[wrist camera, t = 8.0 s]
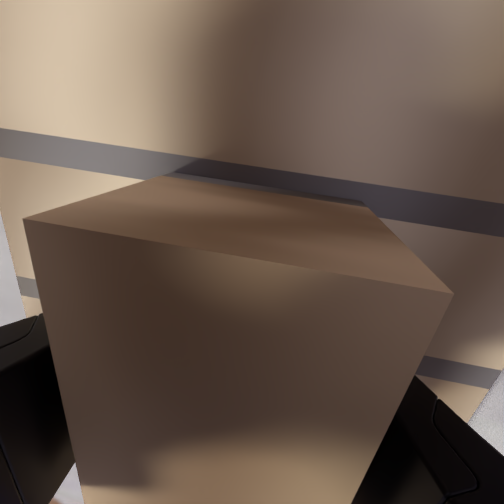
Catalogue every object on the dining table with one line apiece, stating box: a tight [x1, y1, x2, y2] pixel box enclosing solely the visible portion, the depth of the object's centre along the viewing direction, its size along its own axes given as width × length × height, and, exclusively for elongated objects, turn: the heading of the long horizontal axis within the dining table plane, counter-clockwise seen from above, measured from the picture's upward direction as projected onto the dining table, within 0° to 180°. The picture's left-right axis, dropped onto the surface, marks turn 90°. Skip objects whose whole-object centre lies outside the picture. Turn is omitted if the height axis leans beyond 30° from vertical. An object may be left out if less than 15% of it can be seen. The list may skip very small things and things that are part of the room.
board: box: [0, 0, 504, 423], centre depth 9 cm, size 16×22×1 cm
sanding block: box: [22, 172, 454, 504], centre depth 7 cm, size 5×8×4 cm, turn 173°
